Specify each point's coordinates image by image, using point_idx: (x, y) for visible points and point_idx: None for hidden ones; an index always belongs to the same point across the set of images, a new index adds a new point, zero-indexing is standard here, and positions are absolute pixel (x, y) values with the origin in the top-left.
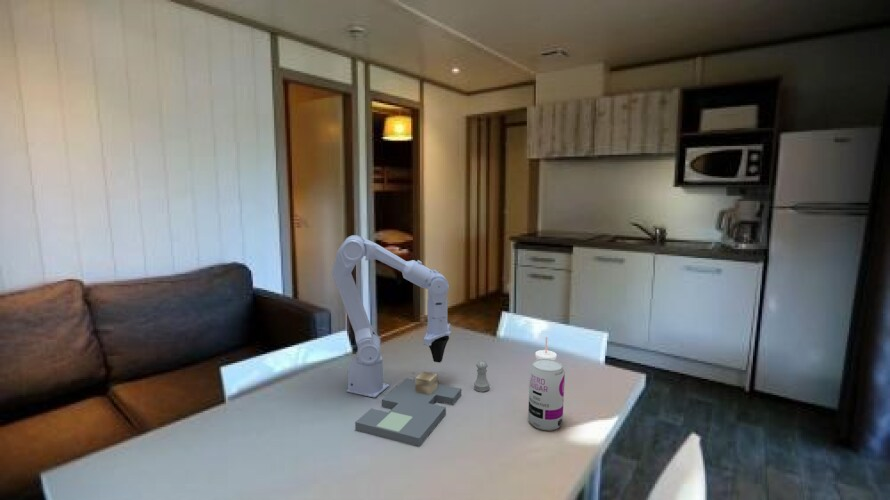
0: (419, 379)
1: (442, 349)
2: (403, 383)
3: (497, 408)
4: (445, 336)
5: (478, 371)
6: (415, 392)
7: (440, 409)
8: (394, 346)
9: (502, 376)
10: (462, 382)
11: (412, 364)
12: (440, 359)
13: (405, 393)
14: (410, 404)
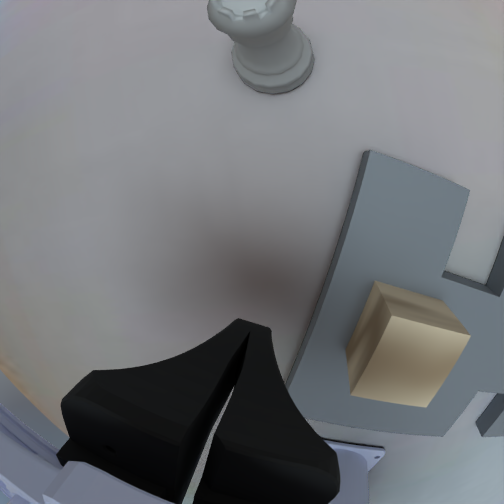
0: (437, 387)
1: (256, 384)
2: (330, 415)
3: (435, 11)
4: (97, 438)
5: (282, 34)
6: None
7: None
8: (51, 407)
9: (139, 11)
10: (219, 159)
11: None
12: (270, 339)
13: None
14: (495, 354)
